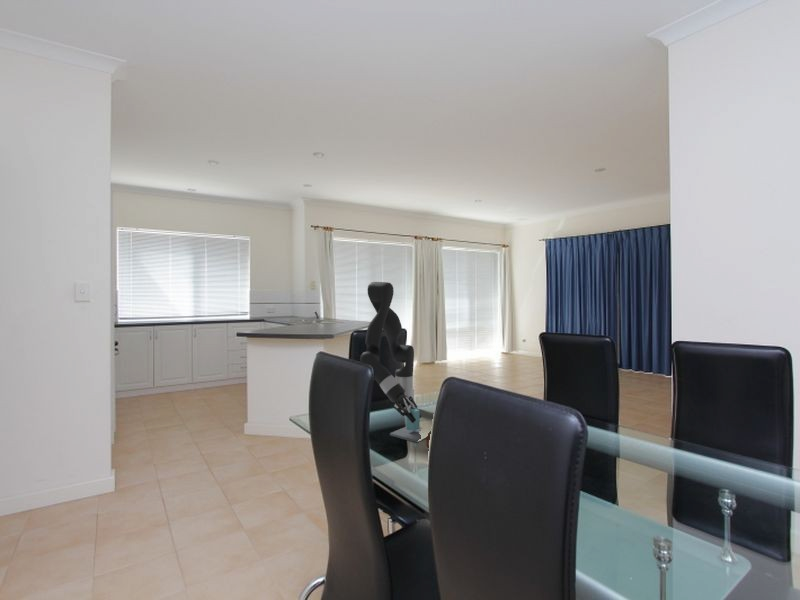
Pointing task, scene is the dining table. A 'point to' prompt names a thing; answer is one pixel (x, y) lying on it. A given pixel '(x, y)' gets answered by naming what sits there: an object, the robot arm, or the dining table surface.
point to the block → (416, 424)
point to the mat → (407, 434)
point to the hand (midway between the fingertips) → (417, 419)
